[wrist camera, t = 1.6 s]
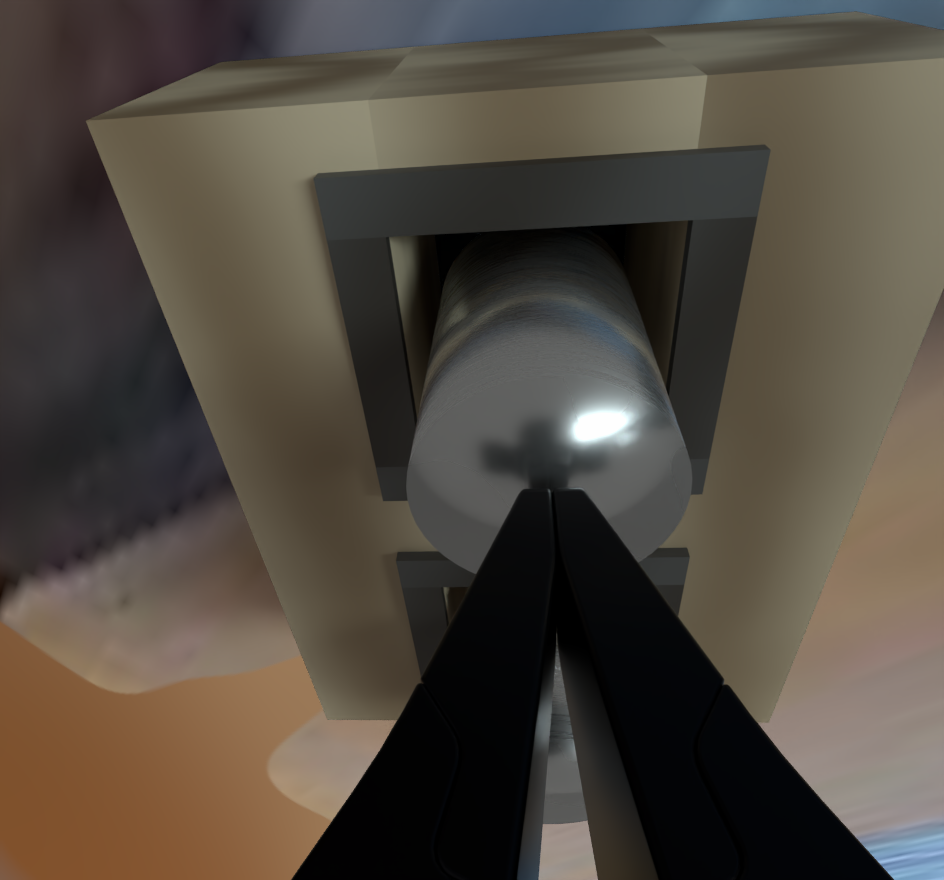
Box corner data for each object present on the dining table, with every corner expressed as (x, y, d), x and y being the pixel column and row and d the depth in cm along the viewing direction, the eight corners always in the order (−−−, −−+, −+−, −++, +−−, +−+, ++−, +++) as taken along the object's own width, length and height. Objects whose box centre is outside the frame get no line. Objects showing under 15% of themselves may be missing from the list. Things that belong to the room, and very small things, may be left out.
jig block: (856, 11, 14) (1053, 53, 9) (719, 572, 25) (771, 731, 20) (220, 62, 15) (75, 125, 10) (360, 576, 26) (325, 728, 21)
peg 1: (638, 209, 12) (713, 370, 8) (623, 385, 15) (674, 585, 10) (430, 221, 13) (385, 382, 8) (449, 391, 15) (423, 588, 11)
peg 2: (610, 537, 18) (644, 743, 13) (602, 625, 20) (629, 825, 16) (466, 539, 18) (451, 741, 14) (476, 625, 21) (466, 822, 16)
